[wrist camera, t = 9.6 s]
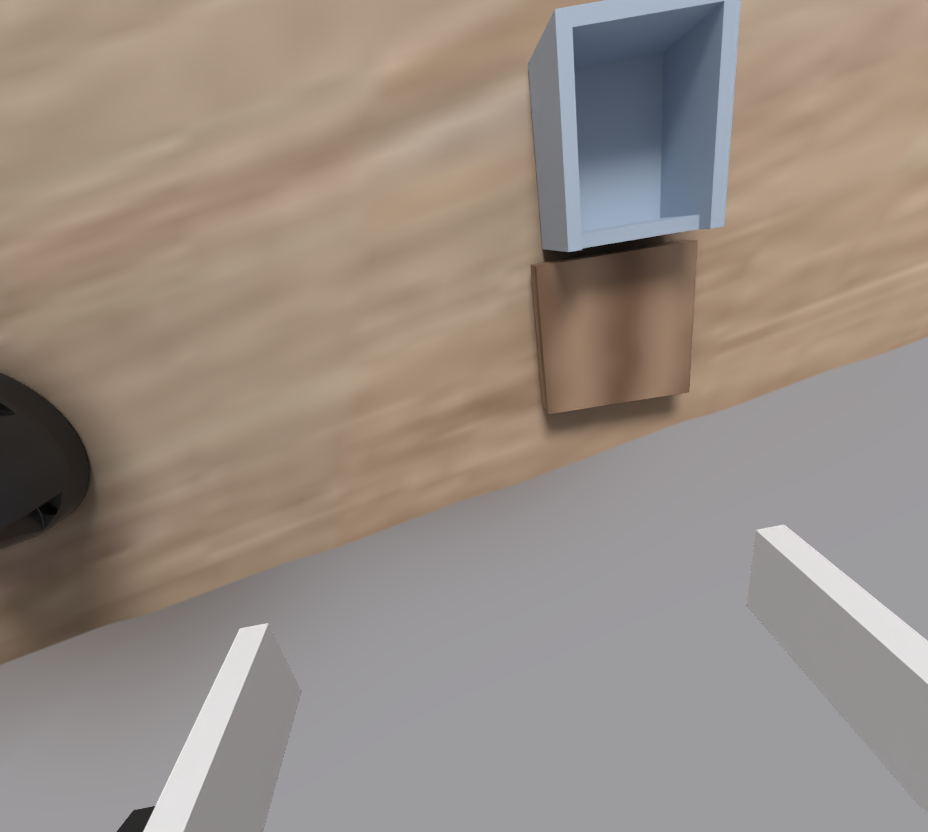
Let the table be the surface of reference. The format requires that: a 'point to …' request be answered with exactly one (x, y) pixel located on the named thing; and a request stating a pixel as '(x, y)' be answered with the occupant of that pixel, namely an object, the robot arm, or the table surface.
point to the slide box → (633, 119)
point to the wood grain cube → (615, 325)
